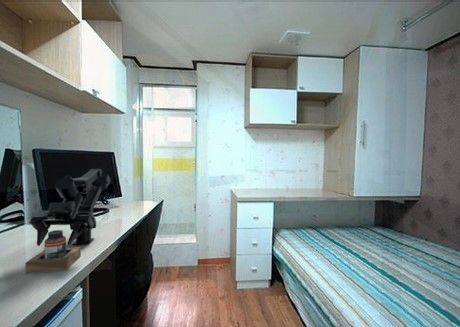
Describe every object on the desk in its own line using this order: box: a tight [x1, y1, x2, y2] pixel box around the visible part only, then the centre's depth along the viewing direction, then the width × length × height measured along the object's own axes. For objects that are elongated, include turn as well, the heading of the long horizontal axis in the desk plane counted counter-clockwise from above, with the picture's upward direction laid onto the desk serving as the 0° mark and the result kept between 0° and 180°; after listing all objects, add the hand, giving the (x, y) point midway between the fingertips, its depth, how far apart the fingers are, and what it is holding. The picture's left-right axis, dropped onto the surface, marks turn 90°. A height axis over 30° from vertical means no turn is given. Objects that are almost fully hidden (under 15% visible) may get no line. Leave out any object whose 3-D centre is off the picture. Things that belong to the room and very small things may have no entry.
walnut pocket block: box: [24, 246, 82, 275], centre depth 79 cm, size 11×11×4 cm
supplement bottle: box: [43, 229, 67, 259], centre depth 79 cm, size 6×6×11 cm
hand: (53, 244), depth 78 cm, fingers open, 9 cm apart
